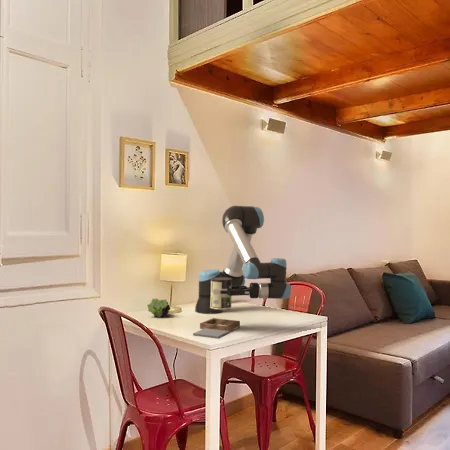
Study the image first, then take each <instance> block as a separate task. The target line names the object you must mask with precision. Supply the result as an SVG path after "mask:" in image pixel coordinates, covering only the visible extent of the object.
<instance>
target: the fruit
mask: <svg viewBox="0 0 450 450" xmlns="http://www.w3.org/2000/svg"><path fill="white" fill-rule="evenodd" d="M170 310H171V306H170V304H169V302H168V301H167V299H158V298H152V299H151V302H150V303H149V304H147V311H148V312H149V313H151V315H154V317H157V318H163V317H165V316H167V314H169V312H170Z"/></svg>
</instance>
